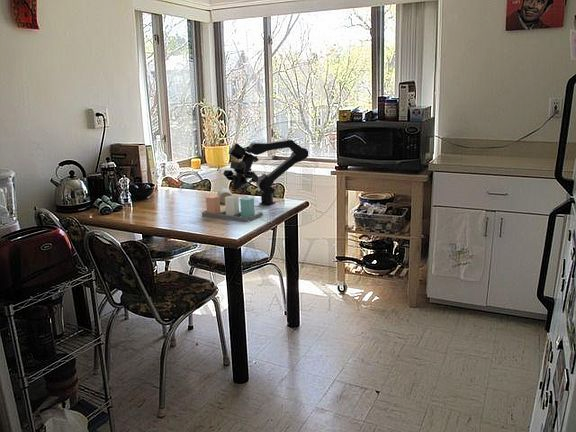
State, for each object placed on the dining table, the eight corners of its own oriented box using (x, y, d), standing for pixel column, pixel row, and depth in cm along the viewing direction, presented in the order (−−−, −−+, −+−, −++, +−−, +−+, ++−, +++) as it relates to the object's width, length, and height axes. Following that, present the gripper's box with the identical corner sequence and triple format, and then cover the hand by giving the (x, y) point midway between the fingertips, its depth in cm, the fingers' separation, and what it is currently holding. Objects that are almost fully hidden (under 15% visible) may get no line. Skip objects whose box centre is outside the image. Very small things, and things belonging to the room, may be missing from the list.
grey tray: (217, 210, 253) (217, 205, 252) (267, 217, 238) (266, 211, 237) (199, 217, 242) (198, 212, 241) (249, 224, 226) (249, 218, 226)
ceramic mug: (219, 205, 264) (218, 191, 262) (217, 202, 271) (216, 188, 270) (239, 204, 266) (238, 190, 264) (237, 200, 274) (236, 187, 272)
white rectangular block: (231, 213, 242) (230, 195, 240) (239, 214, 240) (238, 196, 237) (226, 215, 239) (224, 197, 237) (234, 216, 237) (233, 198, 234)
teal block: (246, 215, 238) (245, 197, 235) (254, 216, 235) (253, 198, 233) (241, 217, 234) (240, 199, 232) (249, 218, 232) (248, 200, 230)
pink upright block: (212, 213, 244) (211, 195, 242) (220, 214, 242) (219, 196, 239) (207, 215, 241) (205, 197, 239) (215, 216, 238) (213, 198, 236)
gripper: (223, 154, 253) (211, 180, 247) (253, 155, 243) (241, 182, 237) (234, 167, 262) (223, 192, 256) (263, 168, 252) (252, 194, 246)
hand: (234, 190), depth 248 cm, fingers closed
